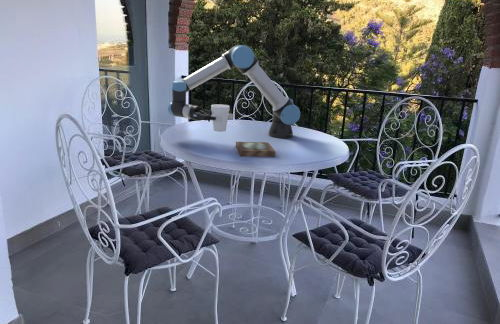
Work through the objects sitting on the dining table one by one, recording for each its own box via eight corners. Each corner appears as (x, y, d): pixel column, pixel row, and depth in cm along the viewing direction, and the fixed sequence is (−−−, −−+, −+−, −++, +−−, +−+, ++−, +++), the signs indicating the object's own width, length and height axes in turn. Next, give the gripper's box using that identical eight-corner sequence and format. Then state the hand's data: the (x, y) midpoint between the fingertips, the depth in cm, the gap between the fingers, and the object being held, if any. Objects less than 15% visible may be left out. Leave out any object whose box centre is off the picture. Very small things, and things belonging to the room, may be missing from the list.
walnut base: (268, 147, 226) (268, 141, 225) (274, 156, 209) (275, 150, 208) (235, 147, 223) (235, 141, 222) (239, 156, 206) (240, 150, 205)
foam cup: (225, 133, 211) (226, 107, 208) (208, 131, 213) (209, 106, 209) (230, 129, 220) (231, 105, 217) (213, 127, 222) (214, 103, 218)
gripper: (205, 116, 233) (238, 122, 223) (179, 121, 215) (214, 128, 204) (205, 103, 231) (238, 108, 221) (179, 107, 213) (214, 113, 202)
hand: (227, 118), depth 212 cm, fingers closed on foam cup, 9 cm apart
